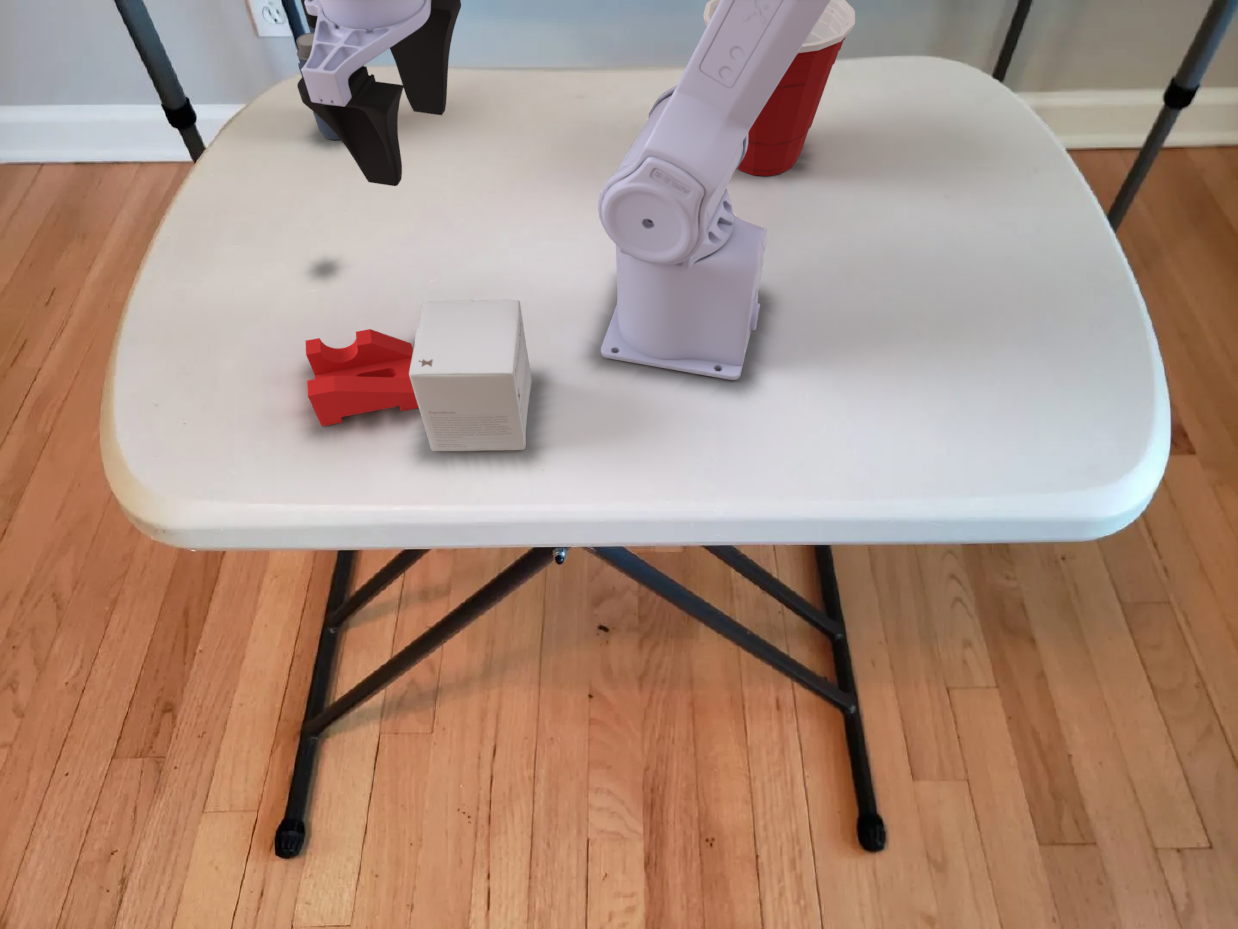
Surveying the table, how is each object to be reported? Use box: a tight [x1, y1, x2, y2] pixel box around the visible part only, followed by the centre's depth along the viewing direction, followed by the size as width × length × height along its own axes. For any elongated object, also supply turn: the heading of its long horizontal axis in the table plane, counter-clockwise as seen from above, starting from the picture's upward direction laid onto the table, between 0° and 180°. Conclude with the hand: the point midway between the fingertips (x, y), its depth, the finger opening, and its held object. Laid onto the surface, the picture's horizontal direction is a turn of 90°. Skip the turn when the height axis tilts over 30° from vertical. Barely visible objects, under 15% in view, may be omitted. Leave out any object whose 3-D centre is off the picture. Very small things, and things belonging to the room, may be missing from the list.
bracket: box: [304, 328, 419, 427], centre depth 59 cm, size 6×5×3 cm
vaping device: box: [295, 0, 341, 141], centre depth 73 cm, size 3×5×12 cm, turn 167°
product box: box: [409, 299, 533, 452], centre depth 56 cm, size 6×6×7 cm
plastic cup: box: [702, 0, 856, 177], centre depth 70 cm, size 11×11×12 cm
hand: (407, 144), depth 59 cm, fingers open, 7 cm apart
